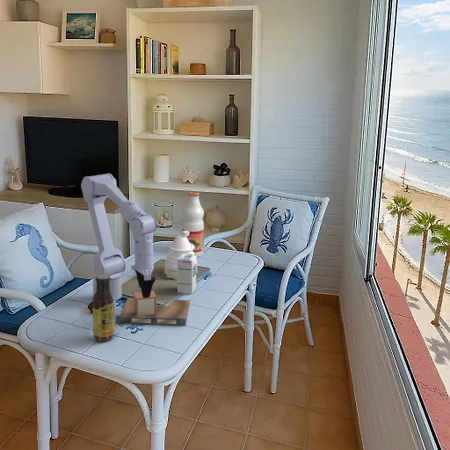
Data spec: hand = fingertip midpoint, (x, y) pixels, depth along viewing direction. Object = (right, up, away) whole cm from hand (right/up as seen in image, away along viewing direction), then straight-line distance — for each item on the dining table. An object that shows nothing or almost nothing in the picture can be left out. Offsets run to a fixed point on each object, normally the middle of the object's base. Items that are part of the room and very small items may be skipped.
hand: (144, 292), depth 160 cm
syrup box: (+12, -4, +21) cm, 25 cm away
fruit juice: (+12, +9, +60) cm, 62 cm away
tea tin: (0, -7, +2) cm, 8 cm away
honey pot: (+8, +2, +39) cm, 39 cm away
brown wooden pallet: (+3, -8, +5) cm, 10 cm away
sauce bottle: (-10, -12, -10) cm, 19 cm away
